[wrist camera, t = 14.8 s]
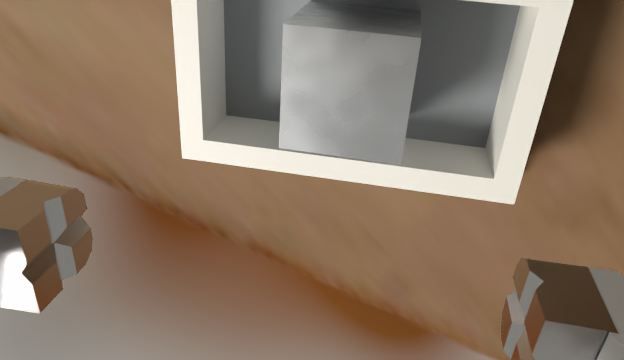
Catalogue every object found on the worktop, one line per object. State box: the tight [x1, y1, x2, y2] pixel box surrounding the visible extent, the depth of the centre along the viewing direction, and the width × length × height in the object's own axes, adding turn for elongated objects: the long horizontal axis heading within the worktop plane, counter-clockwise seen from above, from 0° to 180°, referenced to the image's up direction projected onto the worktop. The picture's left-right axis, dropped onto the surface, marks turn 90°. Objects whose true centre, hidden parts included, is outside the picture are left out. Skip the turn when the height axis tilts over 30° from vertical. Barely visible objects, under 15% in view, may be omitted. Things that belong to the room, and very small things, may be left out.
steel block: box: [279, 0, 422, 165], centre depth 20 cm, size 4×4×5 cm
